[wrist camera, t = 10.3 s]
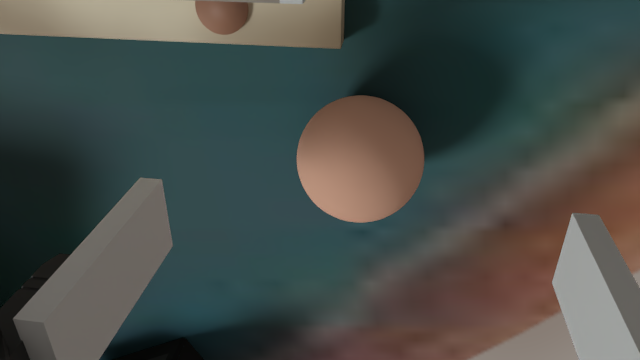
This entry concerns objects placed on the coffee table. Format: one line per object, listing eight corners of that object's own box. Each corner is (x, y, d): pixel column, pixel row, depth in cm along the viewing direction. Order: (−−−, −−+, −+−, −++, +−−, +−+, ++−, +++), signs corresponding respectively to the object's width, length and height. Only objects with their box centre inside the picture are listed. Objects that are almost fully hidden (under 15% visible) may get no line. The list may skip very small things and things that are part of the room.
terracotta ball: (307, 74, 22) (283, 123, 18) (428, 80, 21) (433, 132, 17) (307, 177, 25) (287, 242, 20) (416, 185, 24) (419, 254, 20)
